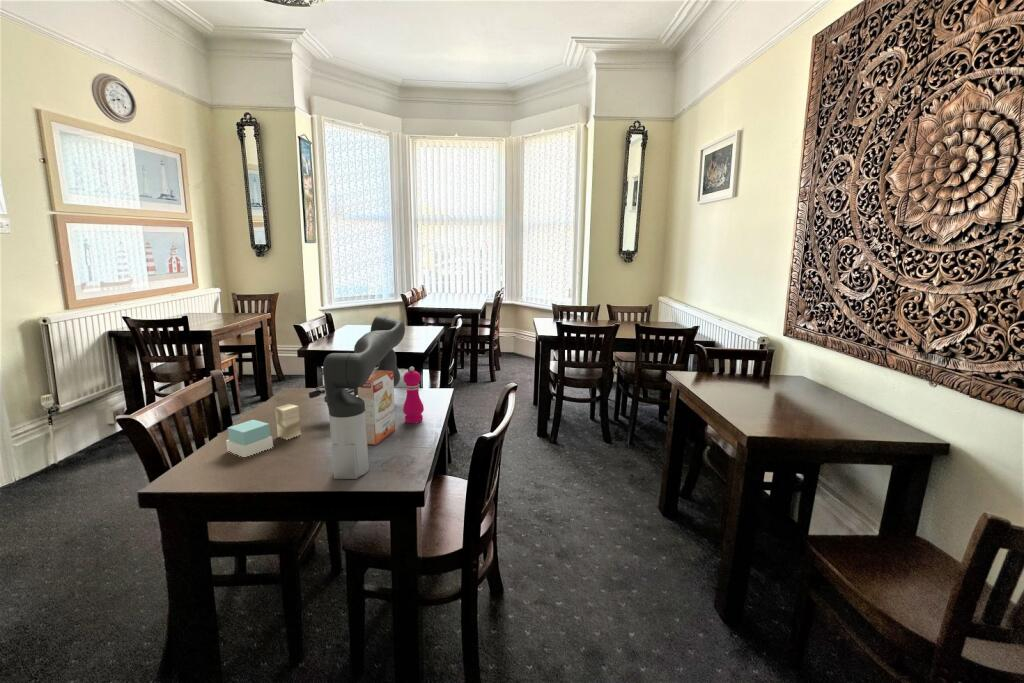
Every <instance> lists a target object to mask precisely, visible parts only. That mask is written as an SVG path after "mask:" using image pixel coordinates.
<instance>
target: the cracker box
mask: <svg viewBox="0 0 1024 683" xmlns="http://www.w3.org/2000/svg"><path fill="white" fill-rule="evenodd" d="M357 397H359V398H361V399H363V400H364V402H365V415H366V432H367V445H370V446H371V445H373V446H376V445H378V444H379V443H380V442H382V441H383V440H384V439H386V437H388V436H389V435H390V434H392V433H393V432H394V431H395V430H396V413H395V412H396V411H395V409H396V408H395V387H394V377H393V371H384V370H378V371H376V372H374V373H372V374H371V375H370V377H369V379H368V381H367V382H366V383H365V384H364V385H363V386H361V387H358V395H357Z"/></svg>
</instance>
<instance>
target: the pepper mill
mask: <svg viewBox="0 0 1024 683" xmlns="http://www.w3.org/2000/svg"><path fill="white" fill-rule="evenodd" d="M408 369H409V370H408V371H406V372H405V373H404V374H403V382H404V383H405V387H404V388H405V390H406V398H405V401H404V403H403V408H402V412H403V413H404V415H405V416H404V421H405V423H406V422H407V423H406V424H409V423H416V422H420V421H422V420H424V418H423V417H424V416H423V414H422V413H423V412H424V410H425V406H424V403H423V401H422V399H421V397H420V392H419V389H420V388H421V387H420V382H421V380H422V379H421V378H422V377H421V374H420V372H418V371H417V370H415V367H414V366H410V367H409V368H408ZM422 422H423V421H422ZM420 423H421V422H420ZM416 424H417V423H416Z"/></svg>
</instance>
